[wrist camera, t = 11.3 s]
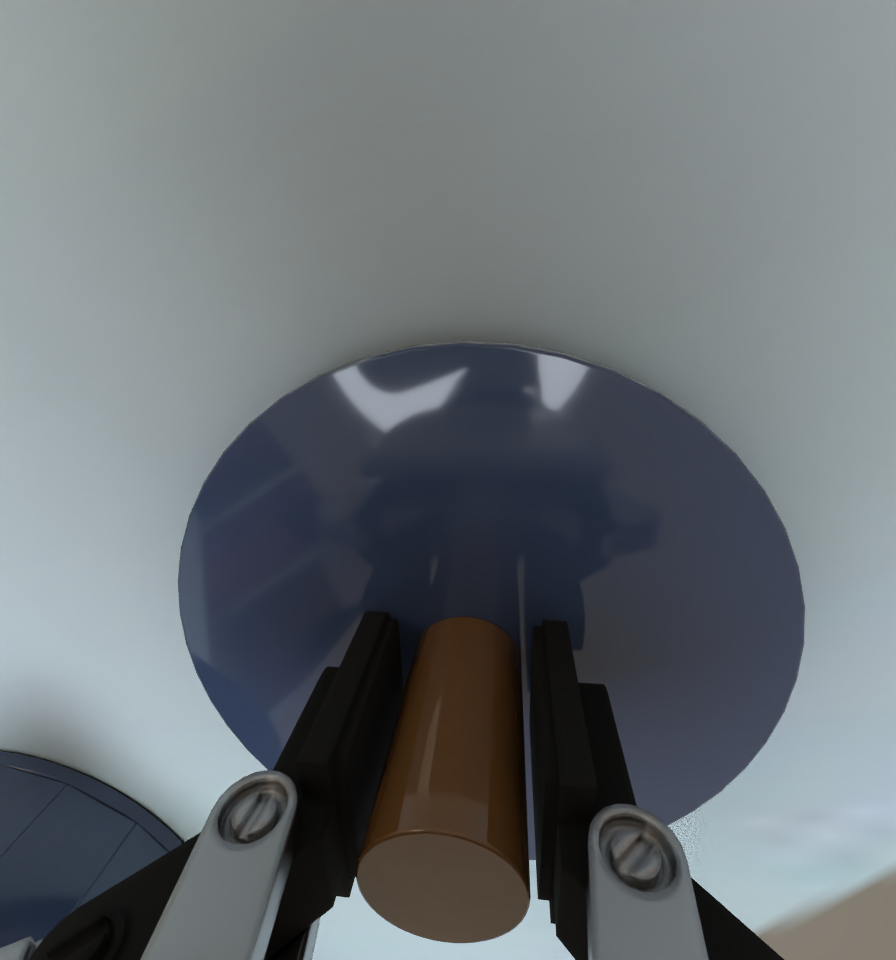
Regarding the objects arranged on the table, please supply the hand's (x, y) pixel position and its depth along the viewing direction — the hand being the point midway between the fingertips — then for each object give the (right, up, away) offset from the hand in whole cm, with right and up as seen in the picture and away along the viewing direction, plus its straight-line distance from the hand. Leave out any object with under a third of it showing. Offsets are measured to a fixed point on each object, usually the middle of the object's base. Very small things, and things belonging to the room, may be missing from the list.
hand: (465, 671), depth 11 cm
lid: (0, 0, +1) cm, 1 cm away
